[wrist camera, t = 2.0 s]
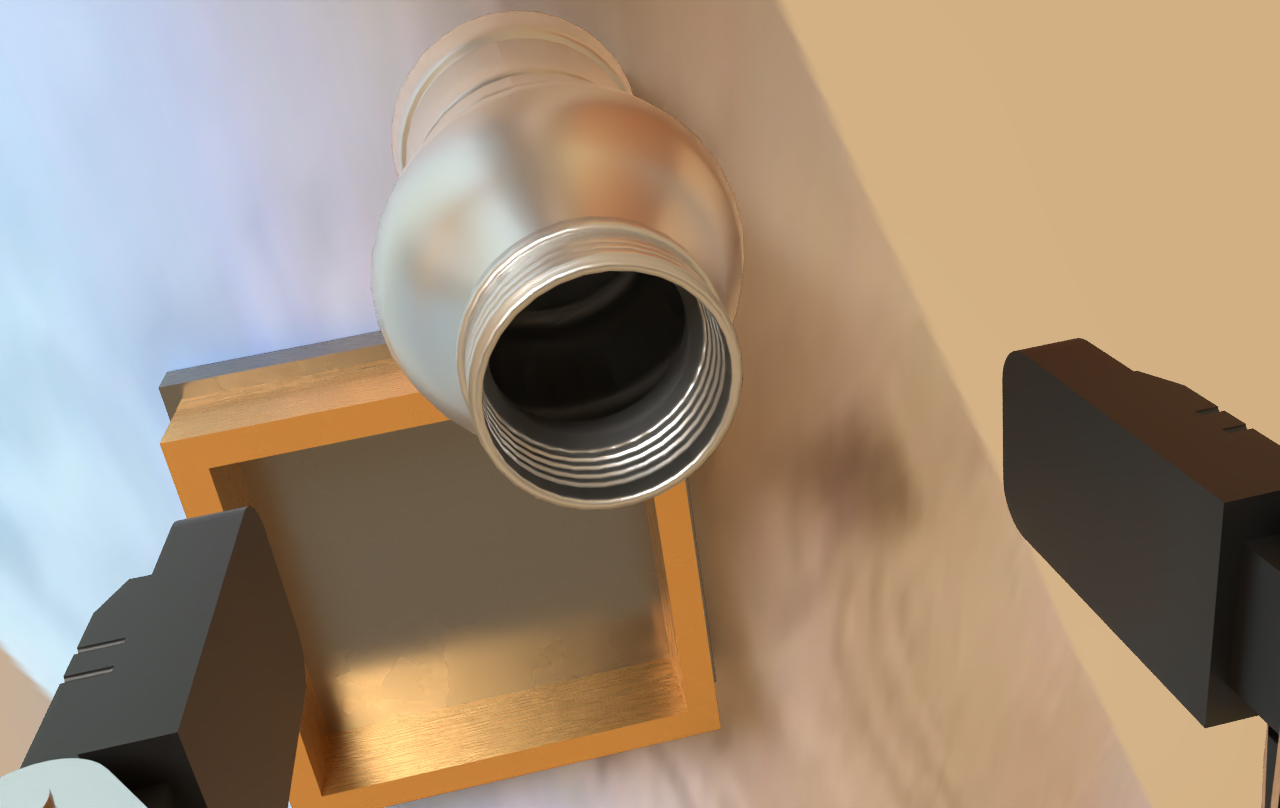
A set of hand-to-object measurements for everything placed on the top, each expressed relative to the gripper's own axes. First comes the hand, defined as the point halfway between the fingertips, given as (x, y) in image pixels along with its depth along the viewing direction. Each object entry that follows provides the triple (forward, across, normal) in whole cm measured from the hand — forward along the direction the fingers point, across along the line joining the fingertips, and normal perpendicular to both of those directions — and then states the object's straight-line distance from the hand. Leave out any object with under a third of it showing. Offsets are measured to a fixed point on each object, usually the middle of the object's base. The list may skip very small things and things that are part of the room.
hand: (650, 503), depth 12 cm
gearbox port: (+23, +4, +13) cm, 27 cm away
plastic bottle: (+23, 0, 0) cm, 23 cm away
